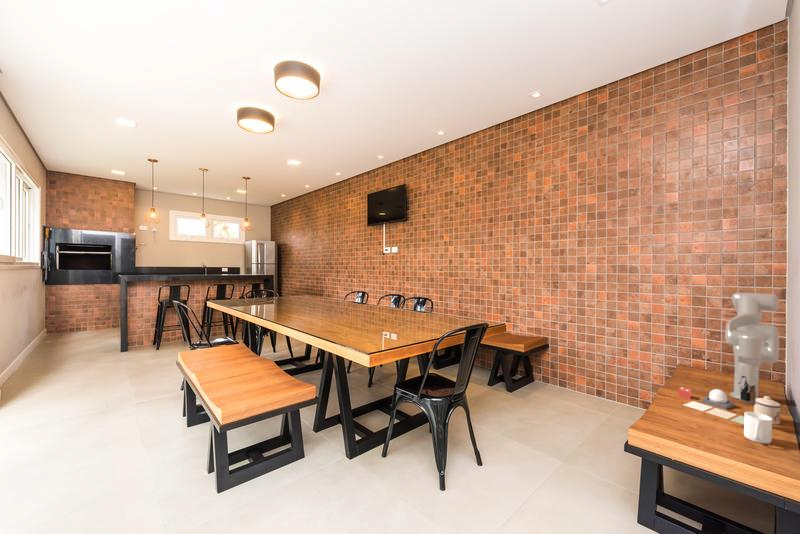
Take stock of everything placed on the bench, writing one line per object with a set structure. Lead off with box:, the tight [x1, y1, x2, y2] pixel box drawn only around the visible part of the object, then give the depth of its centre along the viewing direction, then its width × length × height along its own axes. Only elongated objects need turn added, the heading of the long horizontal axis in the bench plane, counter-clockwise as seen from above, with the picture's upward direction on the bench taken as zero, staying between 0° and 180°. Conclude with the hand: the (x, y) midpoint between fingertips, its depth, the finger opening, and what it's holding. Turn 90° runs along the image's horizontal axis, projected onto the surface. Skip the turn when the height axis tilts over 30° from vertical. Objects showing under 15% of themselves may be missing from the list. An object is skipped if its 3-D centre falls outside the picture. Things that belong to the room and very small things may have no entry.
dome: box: [708, 388, 728, 404], centre depth 182 cm, size 7×7×7 cm
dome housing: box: [701, 395, 736, 410], centre depth 182 cm, size 10×10×3 cm
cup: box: [743, 411, 773, 445], centre depth 147 cm, size 8×12×10 cm
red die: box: [678, 386, 692, 400], centre depth 192 cm, size 5×5×6 cm
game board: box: [683, 400, 744, 428], centre depth 171 cm, size 13×30×1 cm, turn 27°
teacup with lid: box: [753, 395, 782, 426], centre depth 167 cm, size 12×9×12 cm
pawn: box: [739, 385, 756, 406], centre depth 162 cm, size 5×5×9 cm
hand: (747, 398), depth 162 cm, fingers closed on pawn, 4 cm apart
